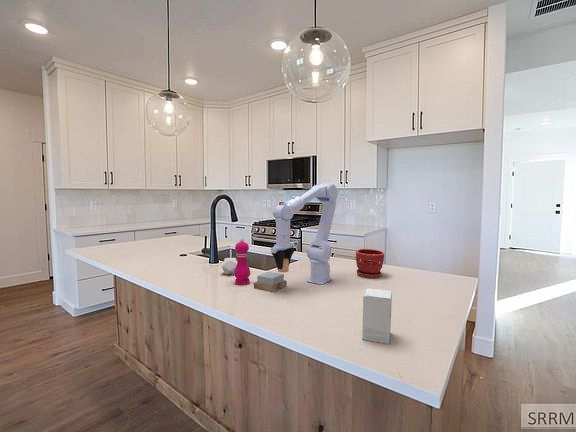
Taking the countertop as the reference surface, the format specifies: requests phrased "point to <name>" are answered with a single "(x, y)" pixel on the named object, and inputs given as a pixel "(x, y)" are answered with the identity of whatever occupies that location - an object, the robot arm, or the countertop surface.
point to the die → (229, 265)
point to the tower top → (270, 278)
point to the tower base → (269, 287)
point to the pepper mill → (242, 263)
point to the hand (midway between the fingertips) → (283, 267)
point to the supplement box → (377, 315)
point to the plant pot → (369, 262)
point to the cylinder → (285, 266)
